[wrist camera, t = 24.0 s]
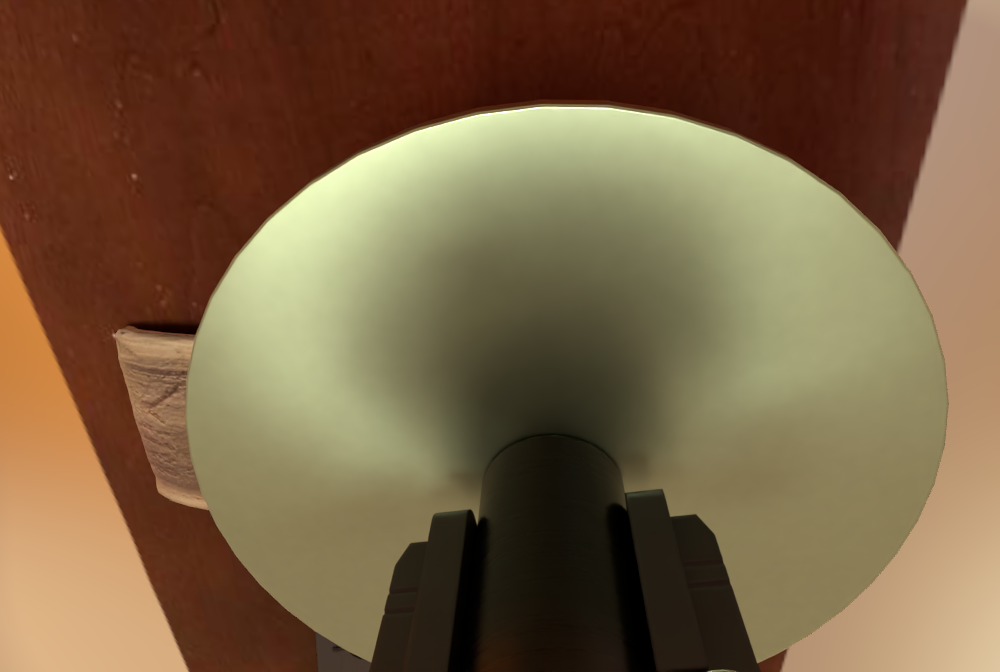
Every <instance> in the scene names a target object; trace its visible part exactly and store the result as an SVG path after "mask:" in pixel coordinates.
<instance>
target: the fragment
mask: <svg viewBox="0 0 1000 672" xmlns="http://www.w3.org/2000/svg"><path fill="white" fill-rule="evenodd" d="M115 336H116V344H117V349H118V358H119V363H120V366H121V369H122V372H123V375H124V378H125V382H126V385H127V388H128V392H129V396H130V400H131V404H132V407H133V413H134V417H135V420H136V423H137V426H138V429H139V432H140V435H141V438H142V441H143V444H144V448H145V451H146V454H147V457H148V460H149V462H150V464H151V467H152V470H153V472H154V474H155V476H156V484H157V488H158V492H159V493H160V494H162V495H163V496H165V497H167V498H168V499H170V500H172V501H175V502H178V503H181V504H183V505H187V506H191V507H196V508H201V509H206V510H209V508H208V506H207V504H206V502H205V500H204V498H203V495H202V493H201V490H200V487H199V484H198V480H197V477H196V474H195V470H194V467H193V464H192V460H191V457H190V450H189V443H188V436H187V428H186V421H185V410H186V378H187V373H188V368H189V363H190V358H191V353H192V348H193V343H194V338H195V335H192V334H177V333H166V332H157V331H147V330H141V329H137V328H135V327H133V326H127V327H125V328H123V329H119V330H118V331H117V332H116V334H115Z"/></svg>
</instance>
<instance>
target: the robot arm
mask: <svg viewBox="0 0 1000 672" xmlns="http://www.w3.org/2000/svg"><path fill="white" fill-rule="evenodd" d="M625 501H626V509H627V515H628V521H629V526H630V532H631V538H632V544H633V549H634V555H635V561H636V566H637V572H638V578H639V583H640V589H641V595H642V601H643V606H644V612H645V618H646V623H647V629H648V635H649V641H650V646H651V652H652V658H653V663H654V669H655V672H761V671H760V668H759V666H758V664H757V661H756V658H755V655H754V652H753V649H752V646H751V643H750V640H749V637H748V634H747V631H746V628H745V625H744V622H743V618H742V615H741V612H740V609H739V606H738V603H737V600H736V597H735V594H734V591H733V588H732V585H731V584H730V579H729V576H728V573H727V570H726V567H725V564H724V563H723V558H722V555H721V552H720V549H719V546H718V543H717V540H716V537H715V534H714V533H713V532H712V531H711V530H710V529H709V528H708V526H707V525H706V524H705V523H704V522H703V521H702V520H701V519H700V518H699V517H698V516H697V514H692V515H682V516H672V517H670V514H669V510H668V506H667V502H666V498H665V495H664V491H663V489H655V490H646V491H636V492H627V493H625ZM476 534H477V523H476V519H475V516H474V513H473V511H472V510H471V509H468V510H458V511H449V512H440V513H435V514H434V515H433V517H432V521H431V526H430V531H429V536H428V541H425V542H416V543H410V544H409V546H408V547H407V549H406V550H405V551H404V553H403V554H402V556H401V557H400V559H399V560H398V562H397V563H396V565H395V567H394V571H393V576H392V580H391V584H390V588H389V595H388V596H387V600H386V604H385V608H384V611H385V614H384V615H383V617H382V621H381V625H380V629H379V633H378V637H377V641H376V645H375V650H374V654H373V658H372V662H371V666H370V670H369V672H462V662H463V653H464V644H465V635H466V626H467V616H468V607H469V598H470V589H471V580H472V570H473V561H474V552H475V543H476Z"/></svg>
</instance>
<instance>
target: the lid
mask: <svg viewBox="0 0 1000 672" xmlns="http://www.w3.org/2000/svg"><path fill="white" fill-rule="evenodd" d="M947 414H948V393H947V381H946V370H945V359H944V355H943V352H942V348H941V345H940V341H939V338H938V334H937V330H936V327H935V323H934V320H933V316H932V314H931V312H930V310H929V307H928V306H927V303H926V301H925V299H924V297H923V295H922V293H921V291H920V289H919V287H918V285H917V283H916V281H915V279H914V277H913V275H912V273H911V271H910V270H909V268H908V267H907V266H906V264H905V263H904V262H903V260H902V259H901V258H900V256H899V255H898V254H897V252H896V251H895V250H894V248H893V247H892V245H891V244H890V243H889V241H888V240H887V239H886V237H885V236H884V235H883V233H882V232H881V231H880V230H879V229H878V228H877V227H876V226H875V225H874V224H873V223H872V222H871V221H870V220H869V219H868V218H867V217H866V216H865V215H864V214H863V213H862V212H861V211H859V210H858V209H857V208H856V207H855V206H854V205H853V204H852V203H851V202H850V201H849V200H848V199H847V198H846V197H845V196H844V195H843V194H842V193H841V192H839V191H838V190H836V189H835V188H833V187H832V186H830V185H829V184H827V183H826V182H825V181H823V180H822V179H820V178H819V177H817V176H816V175H814V174H813V173H811V172H810V171H808V170H807V169H805V168H804V167H802V166H801V165H799V164H798V163H797V162H795V161H794V160H792V159H791V158H789V157H788V156H786V155H785V154H783V153H781V152H779V151H777V150H774V149H772V148H770V147H768V146H766V145H764V144H762V143H760V142H758V141H755V140H753V139H751V138H749V137H747V136H745V135H743V134H741V133H738V132H736V131H734V130H732V129H730V128H727V127H724V126H721V125H717V124H714V123H711V122H707V121H704V120H701V119H698V118H694V117H691V116H688V115H684V114H681V113H678V112H674V111H671V110H667V109H660V108H653V107H647V106H640V105H634V104H627V103H621V102H614V101H608V100H548V99H541V100H533V101H525V102H517V103H509V104H501V105H493V106H485V107H478V108H474V109H470V110H467V111H463V112H459V113H456V114H452V115H448V116H444V117H441V118H437V119H433V120H430V121H426V122H422V123H419V124H416V125H414V126H411V127H409V128H407V129H404V130H402V131H400V132H398V133H395V134H393V135H391V136H388V137H386V138H384V139H381V140H379V141H377V142H374V143H372V144H370V145H367V146H365V147H363V148H361V149H360V150H358V151H356V152H355V153H353V154H352V155H350V156H348V157H347V158H345V159H343V160H342V161H340V162H339V163H337V164H335V165H334V166H332V167H330V168H329V169H327V170H326V171H324V172H322V173H321V174H319V175H318V176H316V177H315V178H313V179H312V180H311V181H310V182H309V183H308V184H306V185H305V186H304V187H303V188H302V189H301V190H299V191H298V192H297V193H296V194H295V195H293V196H292V197H291V198H290V199H289V200H288V201H286V202H285V203H284V204H283V205H282V206H281V207H279V208H278V209H277V210H276V211H275V212H273V213H272V214H271V215H270V216H269V217H268V218H267V219H266V220H265V221H264V222H263V223H262V225H261V226H260V227H259V228H258V229H257V230H256V232H255V233H254V234H253V235H252V236H251V238H250V239H249V240H248V241H247V242H246V243H245V245H244V246H243V247H242V248H241V249H240V250H239V252H238V253H237V254H236V255H235V256H234V258H233V260H232V261H231V263H230V265H229V266H228V268H227V270H226V271H225V273H224V275H223V276H222V278H221V280H220V281H219V283H218V285H217V286H216V288H215V290H214V291H213V293H212V295H211V297H210V299H209V302H208V304H207V307H206V309H205V312H204V315H203V317H202V320H201V322H200V325H199V327H198V330H197V333H196V335H195V338H194V343H193V348H192V353H191V358H190V363H189V368H188V373H187V378H186V410H185V421H186V428H187V436H188V443H189V450H190V457H191V460H192V464H193V467H194V470H195V474H196V477H197V480H198V484H199V487H200V490H201V493H202V495H203V498H204V500H205V502H206V504H207V506H208V508H209V510H210V513H211V515H212V517H213V519H214V521H215V523H216V525H217V527H218V529H219V530H220V532H221V533H222V535H223V536H224V538H225V539H226V541H227V543H228V544H229V546H230V547H231V549H232V550H233V552H234V553H235V555H236V556H237V558H238V559H239V560H240V561H241V562H242V564H243V565H244V566H245V567H246V568H247V570H248V571H249V572H250V573H251V574H252V576H253V577H254V578H255V579H256V580H257V581H258V583H259V584H260V585H261V586H262V587H263V588H264V589H265V590H266V591H267V592H269V593H270V594H271V595H272V596H273V597H274V598H275V599H276V600H277V601H278V602H279V603H280V604H281V605H282V606H283V607H284V608H285V609H287V610H288V611H289V612H291V613H292V614H293V615H294V616H296V617H297V618H298V619H300V620H301V621H302V622H304V623H305V624H306V625H308V626H309V627H310V628H312V629H313V630H314V631H316V632H317V633H319V634H320V635H322V636H324V637H325V638H327V639H329V640H330V641H332V642H333V643H335V644H337V645H338V646H340V647H342V648H343V649H345V650H347V651H349V652H351V653H353V654H355V655H357V656H359V657H361V658H363V659H365V660H367V661H369V662H372V658H373V654H374V650H375V645H376V641H377V637H378V633H379V629H380V625H381V621H382V617H383V615H384V614H385V611H384V608H385V604H386V600H387V596H388V595H389V588H390V584H391V580H392V576H393V571H394V567H395V565H396V563H397V562H398V560H399V559H400V557H401V556H402V554H403V553H404V551H405V550H406V549H407V547H408V546H409V544H410V543H416V542H425V541H428V536H429V531H430V526H431V521H432V517H433V515H434V514H435V513H440V512H449V511H458V510H468V509H471V510H472V511H473V513H474V516H475V519H476V523H477V534H476V543H475V552H474V561H473V570H472V580H471V589H470V598H469V607H468V616H467V626H466V635H465V644H464V653H463V662H462V672H655V669H654V663H653V658H652V652H651V646H650V641H649V635H648V629H647V623H646V618H645V612H644V606H643V601H642V595H641V589H640V583H639V578H638V572H637V566H636V561H635V555H634V549H633V544H632V538H631V532H630V526H629V521H628V515H627V509H626V501H625V493H627V492H636V491H646V490H655V489H663V491H664V495H665V498H666V502H667V506H668V510H669V514H670V517H672V516H682V515H692V514H697V516H698V517H699V518H700V519H701V520H702V521H703V522H704V523H705V524H706V525H707V526H708V528H709V529H710V530H711V531H712V532H713V533H714V534H715V537H716V540H717V543H718V546H719V549H720V552H721V555H722V558H723V563H724V564H725V567H726V570H727V573H728V576H729V579H730V584H731V585H732V588H733V591H734V594H735V597H736V600H737V603H738V606H739V609H740V612H741V615H742V618H743V622H744V625H745V628H746V631H747V634H748V637H749V640H750V643H751V646H752V649H753V652H754V655H755V658H756V661H757V663H759V662H761V661H763V660H765V659H767V658H769V657H772V656H774V655H776V654H778V653H780V652H781V651H783V650H785V649H786V648H788V647H790V646H792V645H793V644H795V643H796V642H798V641H800V640H802V639H803V638H805V637H806V636H808V635H810V634H812V633H813V632H814V631H816V630H817V629H818V628H820V627H821V626H823V625H824V624H825V623H827V622H828V621H829V620H831V619H832V618H833V617H835V616H836V615H837V614H839V613H840V612H842V611H843V610H844V609H845V608H846V607H847V606H848V605H849V604H850V603H851V602H853V601H854V599H856V598H857V597H858V596H859V595H860V594H861V593H862V592H863V591H864V590H865V589H867V588H868V587H869V586H870V584H872V583H873V581H874V580H875V579H876V578H877V577H878V576H879V574H880V573H881V572H882V571H883V570H884V568H885V567H886V566H887V565H888V564H889V563H890V561H891V560H892V559H893V558H894V557H895V555H896V554H897V553H898V551H899V549H900V548H901V546H902V545H903V543H904V542H905V540H906V539H907V537H908V535H909V534H910V532H911V531H912V529H913V528H914V526H915V524H916V523H917V521H918V519H919V517H920V515H921V512H922V510H923V508H924V506H925V504H926V501H927V499H928V497H929V495H930V492H931V490H932V488H933V486H934V483H935V479H936V476H937V472H938V468H939V464H940V461H941V457H942V453H943V450H944V446H945V436H946V425H947Z"/></svg>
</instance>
